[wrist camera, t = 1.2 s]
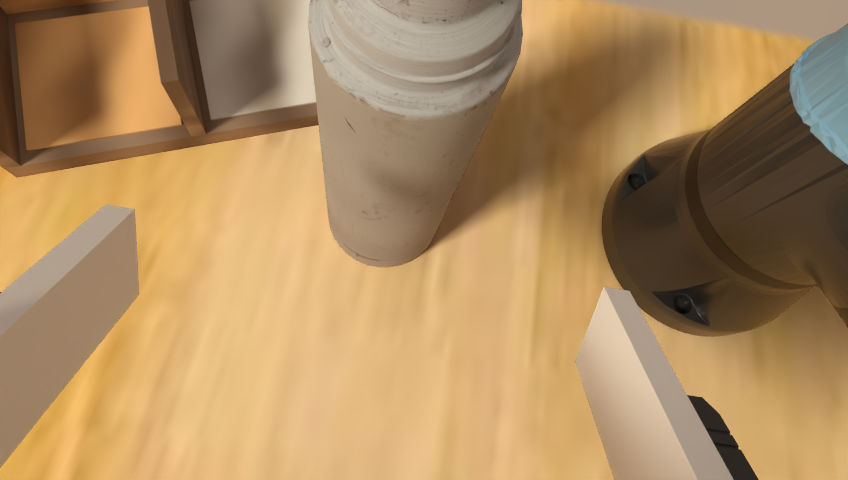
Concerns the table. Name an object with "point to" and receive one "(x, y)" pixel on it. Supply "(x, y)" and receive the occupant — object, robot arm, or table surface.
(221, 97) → the rack
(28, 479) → the table surface
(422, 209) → the thermos bottle
